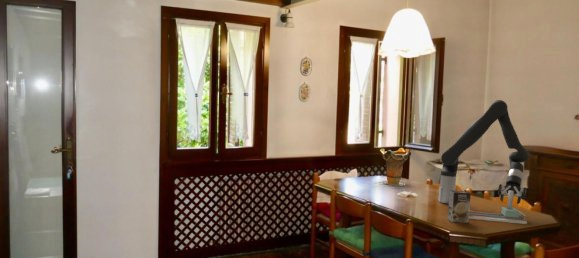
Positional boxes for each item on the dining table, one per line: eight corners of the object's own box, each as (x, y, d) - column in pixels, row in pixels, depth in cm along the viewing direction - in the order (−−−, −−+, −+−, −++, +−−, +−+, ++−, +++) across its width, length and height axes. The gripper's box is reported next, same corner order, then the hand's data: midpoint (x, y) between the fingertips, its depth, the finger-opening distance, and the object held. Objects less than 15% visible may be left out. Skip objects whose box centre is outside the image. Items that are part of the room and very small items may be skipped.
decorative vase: (371, 181, 344) (375, 145, 342) (394, 181, 355) (398, 146, 353) (389, 186, 325) (394, 148, 324) (413, 186, 336) (417, 149, 335)
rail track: (468, 218, 245) (469, 211, 245) (463, 213, 257) (464, 206, 256) (526, 224, 240) (527, 216, 240) (519, 218, 252) (519, 211, 252)
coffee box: (451, 222, 236) (454, 192, 235) (447, 218, 242) (449, 189, 241) (468, 222, 236) (471, 193, 235) (463, 219, 243) (465, 190, 242)
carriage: (505, 216, 244) (507, 192, 243) (501, 213, 251) (503, 189, 250) (518, 217, 243) (520, 193, 242) (514, 214, 250) (516, 190, 249)
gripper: (500, 173, 257) (495, 195, 248) (528, 176, 249) (524, 200, 240) (501, 180, 262) (496, 203, 253) (528, 184, 254) (524, 208, 245)
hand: (509, 201), depth 247 cm, fingers open, 7 cm apart
